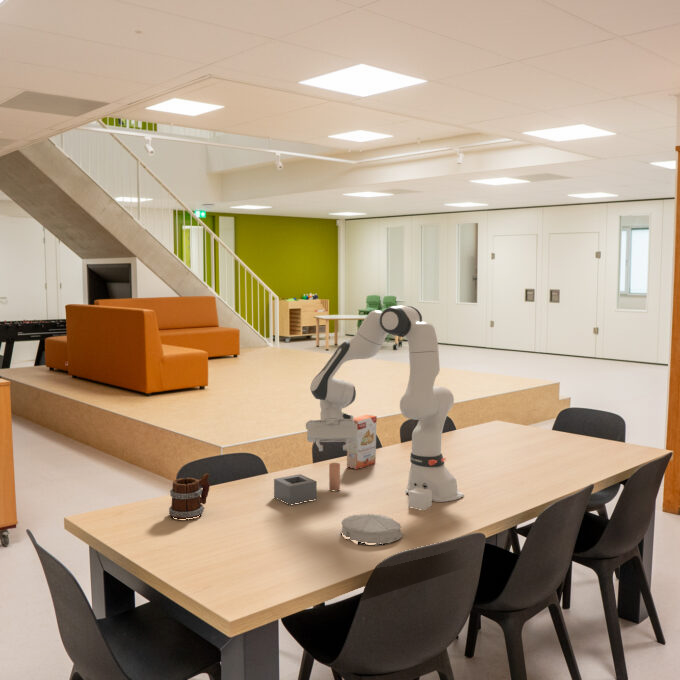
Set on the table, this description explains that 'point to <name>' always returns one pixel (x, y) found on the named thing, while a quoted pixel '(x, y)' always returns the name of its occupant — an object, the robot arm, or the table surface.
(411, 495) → the white cube
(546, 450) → the table surface
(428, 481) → the robot arm
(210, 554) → the table surface
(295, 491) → the socket box
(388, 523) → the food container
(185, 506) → the mug
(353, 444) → the cracker box
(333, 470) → the peg
